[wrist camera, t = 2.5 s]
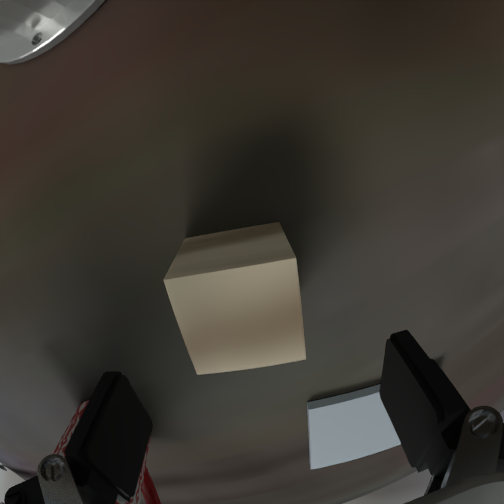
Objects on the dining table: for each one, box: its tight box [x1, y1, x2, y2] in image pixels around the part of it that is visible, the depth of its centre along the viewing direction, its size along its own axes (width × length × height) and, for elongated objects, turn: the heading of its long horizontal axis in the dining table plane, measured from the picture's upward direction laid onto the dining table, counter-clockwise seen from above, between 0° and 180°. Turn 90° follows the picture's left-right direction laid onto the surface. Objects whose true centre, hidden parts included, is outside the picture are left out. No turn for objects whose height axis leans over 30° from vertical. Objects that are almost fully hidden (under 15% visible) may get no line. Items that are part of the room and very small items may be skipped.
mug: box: [54, 400, 161, 504], centre depth 15 cm, size 13×9×14 cm
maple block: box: [164, 222, 306, 375], centre depth 14 cm, size 5×5×5 cm
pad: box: [307, 366, 440, 469], centre depth 22 cm, size 12×12×1 cm
